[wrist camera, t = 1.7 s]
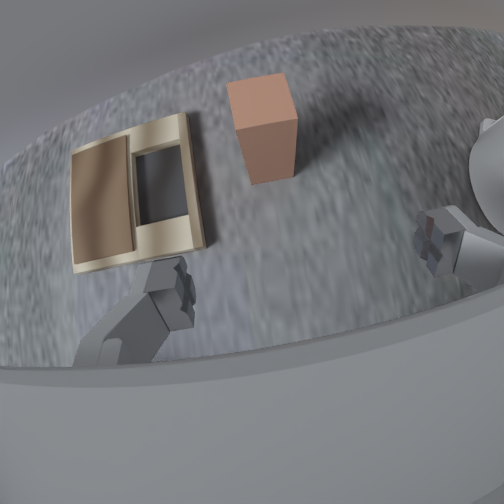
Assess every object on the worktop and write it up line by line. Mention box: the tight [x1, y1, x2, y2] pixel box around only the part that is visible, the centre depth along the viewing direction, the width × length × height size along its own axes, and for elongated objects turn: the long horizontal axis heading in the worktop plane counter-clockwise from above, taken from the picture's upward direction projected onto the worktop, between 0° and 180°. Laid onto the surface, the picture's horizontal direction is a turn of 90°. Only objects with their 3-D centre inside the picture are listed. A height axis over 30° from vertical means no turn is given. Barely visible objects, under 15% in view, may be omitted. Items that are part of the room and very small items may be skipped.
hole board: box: [70, 112, 207, 275], centre depth 33 cm, size 16×16×2 cm
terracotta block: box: [226, 73, 298, 185], centre depth 27 cm, size 4×4×12 cm
